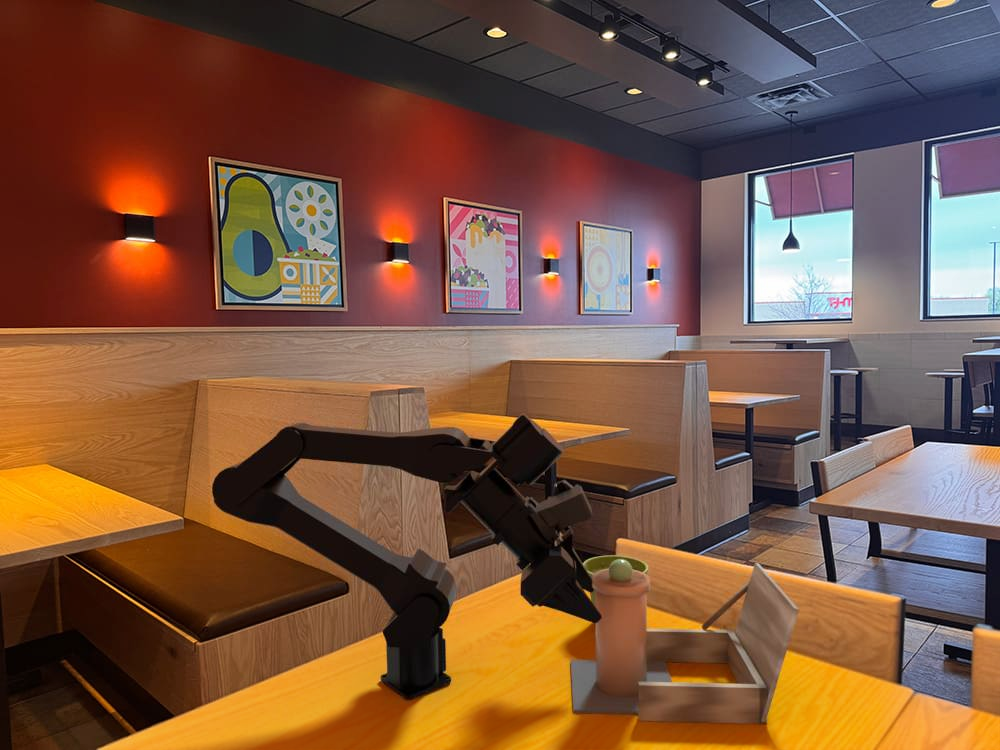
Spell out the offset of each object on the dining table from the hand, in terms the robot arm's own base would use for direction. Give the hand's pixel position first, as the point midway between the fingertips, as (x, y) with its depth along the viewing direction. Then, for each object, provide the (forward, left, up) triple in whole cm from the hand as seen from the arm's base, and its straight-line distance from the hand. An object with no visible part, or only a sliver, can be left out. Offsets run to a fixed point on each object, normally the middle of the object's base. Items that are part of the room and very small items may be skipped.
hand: (596, 604), depth 84 cm
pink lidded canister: (+2, -2, -10) cm, 10 cm away
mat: (+2, -2, -10) cm, 10 cm away
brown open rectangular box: (+9, -8, -10) cm, 16 cm away
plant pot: (+15, +10, -10) cm, 21 cm away
